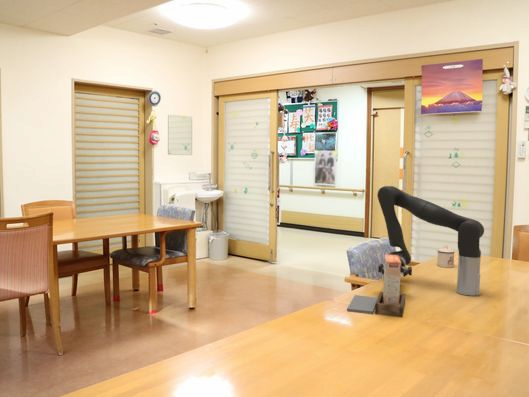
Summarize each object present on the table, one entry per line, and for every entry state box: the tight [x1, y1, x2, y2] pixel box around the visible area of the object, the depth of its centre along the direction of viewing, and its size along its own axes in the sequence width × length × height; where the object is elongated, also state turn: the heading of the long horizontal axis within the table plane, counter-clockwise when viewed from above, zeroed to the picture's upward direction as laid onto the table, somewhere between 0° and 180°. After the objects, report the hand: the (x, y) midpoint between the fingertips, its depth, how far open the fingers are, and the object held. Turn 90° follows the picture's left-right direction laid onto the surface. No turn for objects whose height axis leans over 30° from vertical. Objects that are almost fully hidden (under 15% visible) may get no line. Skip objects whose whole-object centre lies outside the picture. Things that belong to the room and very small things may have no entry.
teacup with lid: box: [436, 245, 455, 269], centre depth 275 cm, size 12×9×12 cm
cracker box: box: [382, 254, 401, 306], centre depth 196 cm, size 14×6×21 cm, turn 168°
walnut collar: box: [374, 291, 406, 318], centre depth 197 cm, size 10×18×4 cm, turn 161°
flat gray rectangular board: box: [346, 294, 378, 315], centre depth 201 cm, size 10×20×1 cm, turn 161°
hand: (393, 273), depth 208 cm, fingers open, 8 cm apart
